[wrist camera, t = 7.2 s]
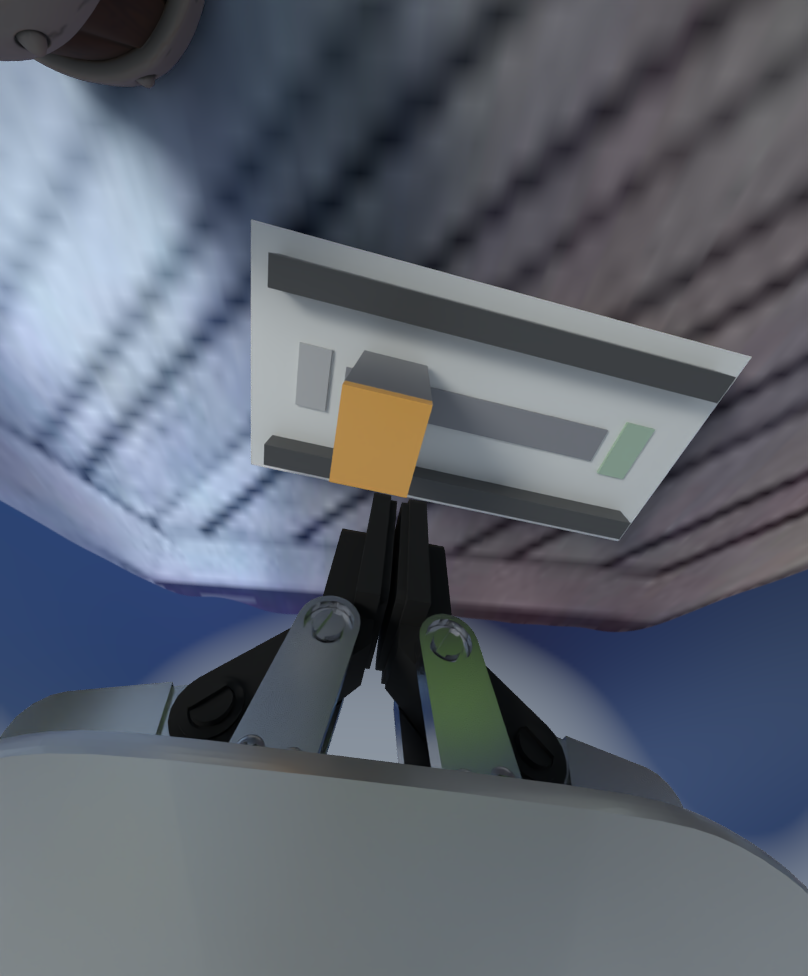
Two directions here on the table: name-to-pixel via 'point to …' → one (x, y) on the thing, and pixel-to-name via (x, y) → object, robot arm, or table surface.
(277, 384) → the breaker panel
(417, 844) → the robot arm
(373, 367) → the block
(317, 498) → the table surface
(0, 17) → the flowerpot
